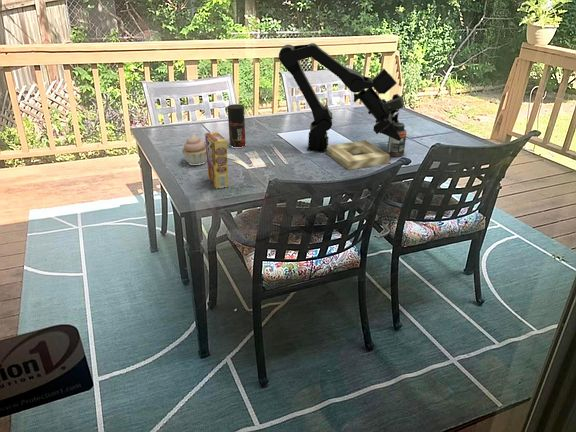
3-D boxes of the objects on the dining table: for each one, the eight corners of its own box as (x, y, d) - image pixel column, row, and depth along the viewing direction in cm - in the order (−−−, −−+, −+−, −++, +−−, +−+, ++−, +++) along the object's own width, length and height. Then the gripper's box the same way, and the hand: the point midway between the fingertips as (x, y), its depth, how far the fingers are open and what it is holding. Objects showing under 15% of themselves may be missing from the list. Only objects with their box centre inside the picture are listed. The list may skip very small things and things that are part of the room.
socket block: (348, 170, 155) (348, 161, 154) (326, 153, 168) (327, 145, 167) (388, 163, 161) (389, 155, 159) (365, 147, 174) (365, 140, 172)
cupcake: (207, 156, 166) (205, 129, 161) (212, 165, 158) (210, 137, 153) (181, 159, 163) (178, 131, 158) (184, 169, 155) (181, 140, 150)
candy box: (230, 187, 143) (227, 139, 136) (216, 189, 142) (213, 142, 134) (220, 176, 150) (217, 131, 143) (207, 178, 149) (203, 133, 141)
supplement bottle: (391, 150, 172) (395, 120, 166) (406, 153, 169) (410, 123, 163) (383, 154, 168) (387, 124, 162) (398, 158, 165) (402, 127, 159)
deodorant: (238, 141, 179) (236, 103, 171) (248, 145, 175) (247, 106, 168) (226, 145, 175) (224, 106, 168) (236, 149, 171) (234, 109, 164)
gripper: (386, 94, 150) (416, 131, 152) (396, 82, 166) (423, 116, 168) (360, 116, 157) (390, 151, 159) (372, 102, 172) (398, 134, 174)
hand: (401, 137), depth 165 cm, fingers closed on supplement bottle, 6 cm apart
